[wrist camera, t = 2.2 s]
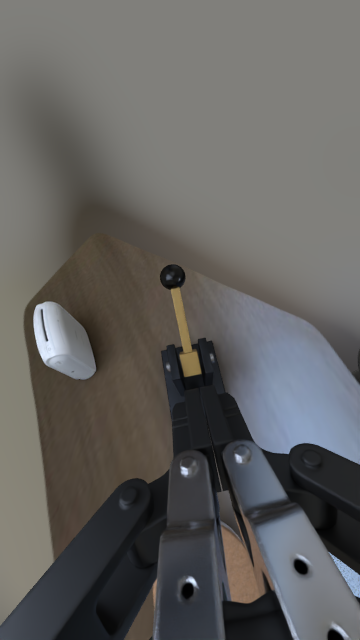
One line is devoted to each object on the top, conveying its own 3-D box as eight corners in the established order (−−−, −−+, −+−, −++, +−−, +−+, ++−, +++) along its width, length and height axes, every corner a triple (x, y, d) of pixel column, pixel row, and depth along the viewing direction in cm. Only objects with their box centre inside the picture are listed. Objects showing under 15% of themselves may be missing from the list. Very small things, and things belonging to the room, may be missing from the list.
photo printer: (100, 374, 43) (64, 350, 32) (76, 384, 43) (32, 364, 32) (87, 326, 48) (51, 291, 37) (65, 334, 47) (23, 302, 36)
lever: (158, 269, 33) (156, 264, 29) (182, 264, 33) (182, 259, 29) (180, 372, 33) (180, 379, 30) (203, 368, 33) (206, 373, 30)
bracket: (162, 353, 44) (146, 321, 32) (211, 343, 44) (214, 308, 32) (173, 425, 38) (159, 418, 27) (229, 413, 38) (240, 401, 27)
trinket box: (151, 529, 33) (133, 559, 25) (223, 490, 34) (228, 506, 26) (185, 639, 28) (177, 722, 20) (266, 589, 29) (291, 648, 21)
